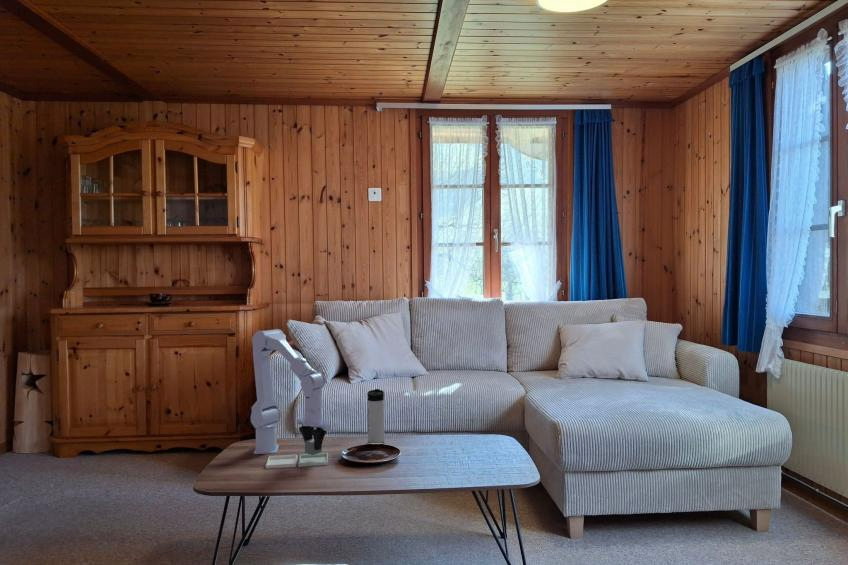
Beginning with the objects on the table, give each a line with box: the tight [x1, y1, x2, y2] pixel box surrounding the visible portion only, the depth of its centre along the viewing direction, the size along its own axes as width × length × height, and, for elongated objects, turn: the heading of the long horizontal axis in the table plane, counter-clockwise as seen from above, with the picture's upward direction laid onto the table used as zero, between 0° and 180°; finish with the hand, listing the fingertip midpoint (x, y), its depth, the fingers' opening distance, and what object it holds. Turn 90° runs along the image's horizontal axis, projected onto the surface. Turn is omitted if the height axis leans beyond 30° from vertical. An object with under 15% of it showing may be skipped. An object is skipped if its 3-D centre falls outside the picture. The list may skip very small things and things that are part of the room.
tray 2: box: [297, 452, 329, 468], centre depth 191 cm, size 10×10×1 cm
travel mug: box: [366, 388, 385, 444], centre depth 211 cm, size 6×7×20 cm
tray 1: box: [265, 454, 299, 470], centre depth 189 cm, size 10×10×1 cm
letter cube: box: [304, 437, 323, 455], centre depth 191 cm, size 4×4×4 cm
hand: (313, 448), depth 191 cm, fingers closed on letter cube, 4 cm apart
